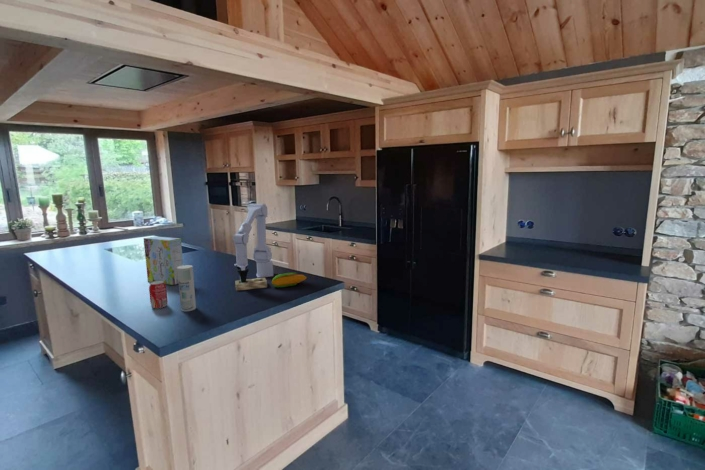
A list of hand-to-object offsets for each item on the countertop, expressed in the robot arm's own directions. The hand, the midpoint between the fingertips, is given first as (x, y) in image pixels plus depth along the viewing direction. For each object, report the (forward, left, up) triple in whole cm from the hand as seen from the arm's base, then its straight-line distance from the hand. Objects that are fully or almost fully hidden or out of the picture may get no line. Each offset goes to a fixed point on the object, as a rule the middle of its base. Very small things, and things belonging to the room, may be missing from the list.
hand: (243, 280), depth 201 cm
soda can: (+39, +15, -5) cm, 42 cm away
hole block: (-4, 0, -4) cm, 6 cm away
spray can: (+26, +23, -5) cm, 35 cm away
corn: (-24, +5, -5) cm, 25 cm away
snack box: (+41, -29, -5) cm, 50 cm away
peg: (0, 0, -4) cm, 4 cm away
